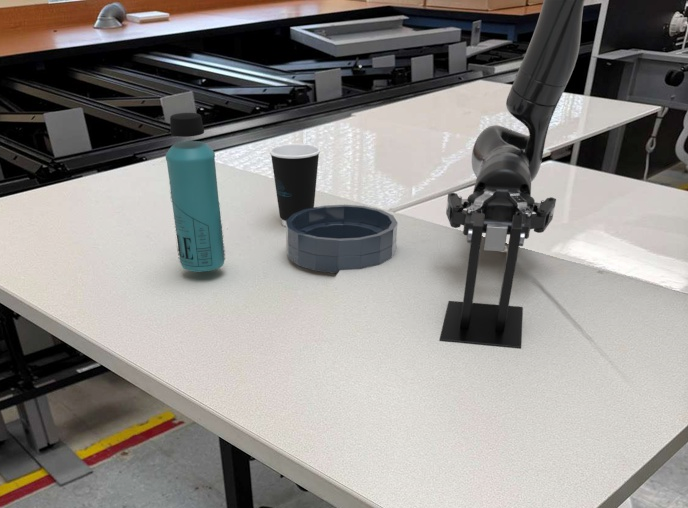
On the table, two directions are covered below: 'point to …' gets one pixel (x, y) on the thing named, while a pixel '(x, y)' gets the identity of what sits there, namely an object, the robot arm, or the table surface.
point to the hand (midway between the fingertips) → (496, 232)
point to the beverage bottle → (195, 197)
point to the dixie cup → (294, 177)
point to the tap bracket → (486, 319)
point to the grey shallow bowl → (340, 237)
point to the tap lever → (496, 234)
